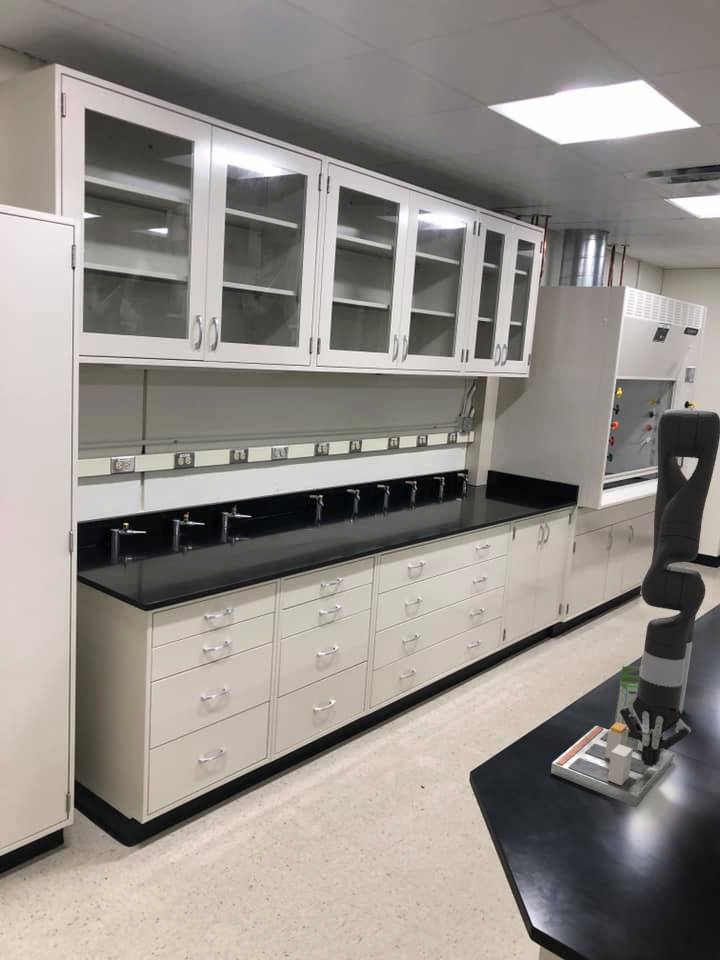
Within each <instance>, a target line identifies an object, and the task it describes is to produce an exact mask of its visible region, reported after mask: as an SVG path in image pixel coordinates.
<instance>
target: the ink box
mask: <svg viewBox="0 0 720 960" xmlns="http://www.w3.org/2000/svg"><path fill="white" fill-rule="evenodd" d="M639 669H640V666H629V665H628V666H625V665H624V666H623V665H622V668H621V674H620V681H619V689H618V694H617V695H618V696H617V704H616V711H615V718H614V724H615V723H616V722H618V723H621V724H624V725H627V724H626V722H625V721H624V719H623V717H622V715H621V713H620V711H621V710H622V708H624V707H625V706H630V705H633V702H634V701H635V699H636V697H637V689H638V681H639V674H638V675H637V674H635V675H634V674H630V675H629V673H631V672H636V671H637V672H640V671H639ZM635 713H636V712H635ZM635 717H636V719H637V721H638V722H639V724H640V725H641V722H640V720H639V718H638V716H637V714H636V715H635ZM627 728H628V726H627ZM628 733H631V732H630V730H628Z"/></svg>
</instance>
